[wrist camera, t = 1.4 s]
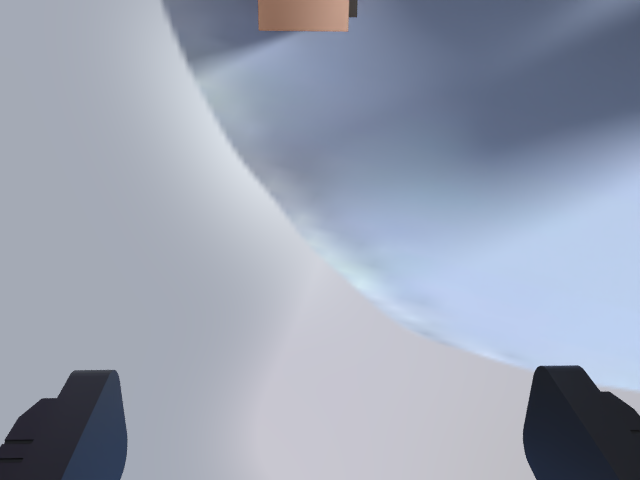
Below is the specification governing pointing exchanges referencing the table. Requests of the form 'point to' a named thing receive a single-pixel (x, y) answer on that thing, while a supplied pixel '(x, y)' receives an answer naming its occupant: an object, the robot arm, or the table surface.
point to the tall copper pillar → (305, 15)
